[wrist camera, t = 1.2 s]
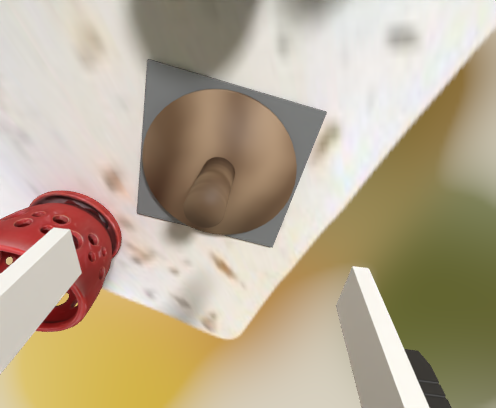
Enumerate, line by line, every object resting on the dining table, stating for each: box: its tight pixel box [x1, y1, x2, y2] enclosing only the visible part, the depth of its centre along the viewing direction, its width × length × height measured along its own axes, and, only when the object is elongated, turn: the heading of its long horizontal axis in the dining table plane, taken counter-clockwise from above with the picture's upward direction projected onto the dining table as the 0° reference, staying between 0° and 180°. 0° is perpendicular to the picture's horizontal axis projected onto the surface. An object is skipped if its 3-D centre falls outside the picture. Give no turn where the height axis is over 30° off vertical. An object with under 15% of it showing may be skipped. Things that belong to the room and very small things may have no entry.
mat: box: [137, 59, 327, 247], centre depth 32 cm, size 18×18×1 cm
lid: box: [142, 89, 297, 235], centre depth 28 cm, size 17×17×9 cm
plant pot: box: [0, 191, 121, 332], centre depth 32 cm, size 13×13×12 cm
